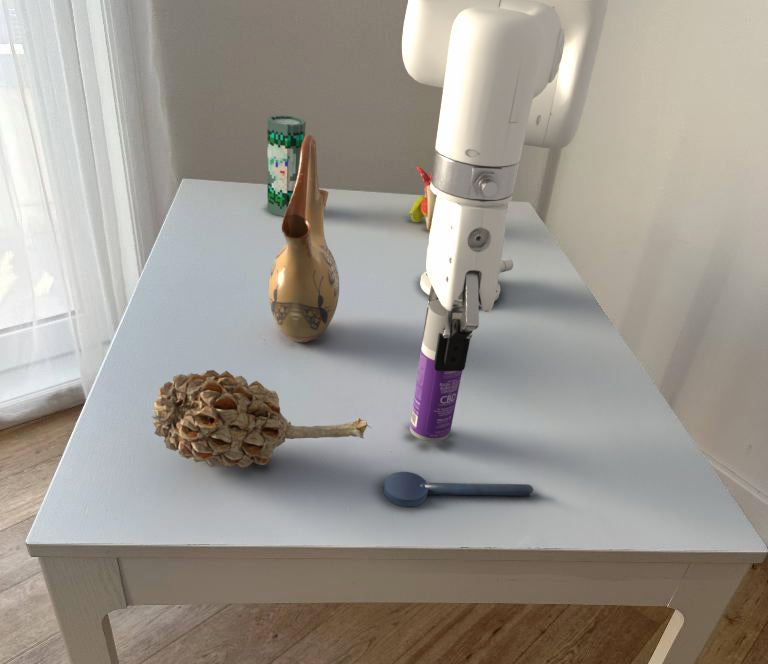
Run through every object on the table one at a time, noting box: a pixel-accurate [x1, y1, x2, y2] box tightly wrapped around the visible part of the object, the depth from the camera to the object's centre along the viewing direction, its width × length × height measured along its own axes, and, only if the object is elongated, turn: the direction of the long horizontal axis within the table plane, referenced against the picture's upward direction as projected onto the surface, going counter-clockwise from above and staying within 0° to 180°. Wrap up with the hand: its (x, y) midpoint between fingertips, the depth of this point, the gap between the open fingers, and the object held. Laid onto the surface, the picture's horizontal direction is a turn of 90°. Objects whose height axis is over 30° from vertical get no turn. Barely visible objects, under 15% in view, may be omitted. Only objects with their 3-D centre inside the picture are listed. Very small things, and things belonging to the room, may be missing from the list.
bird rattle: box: [408, 166, 437, 232], centre depth 132 cm, size 6×11×9 cm
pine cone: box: [151, 369, 371, 468], centre depth 75 cm, size 22×10×10 cm, turn 98°
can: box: [266, 114, 306, 217], centre depth 129 cm, size 6×6×15 cm
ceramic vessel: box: [268, 134, 340, 343], centre depth 91 cm, size 16×9×25 cm, turn 175°
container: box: [409, 299, 463, 443], centre depth 79 cm, size 5×5×15 cm
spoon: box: [383, 471, 534, 508], centre depth 77 cm, size 16×5×1 cm, turn 96°
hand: (442, 354), depth 77 cm, fingers closed on container, 4 cm apart
